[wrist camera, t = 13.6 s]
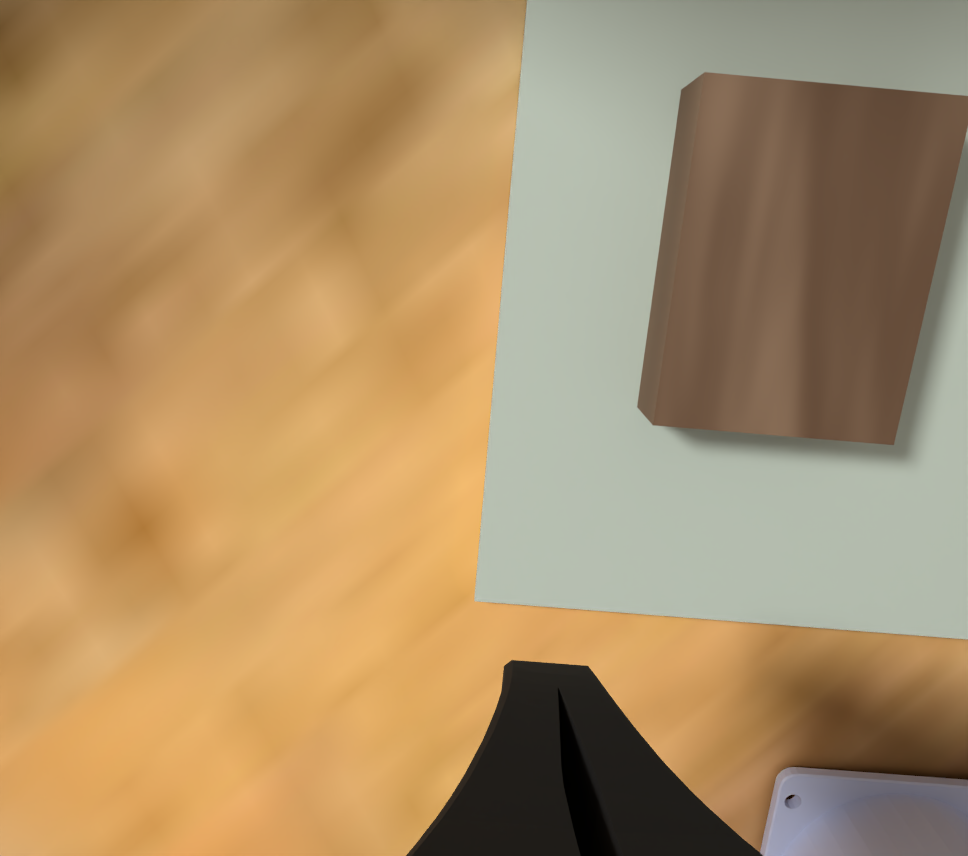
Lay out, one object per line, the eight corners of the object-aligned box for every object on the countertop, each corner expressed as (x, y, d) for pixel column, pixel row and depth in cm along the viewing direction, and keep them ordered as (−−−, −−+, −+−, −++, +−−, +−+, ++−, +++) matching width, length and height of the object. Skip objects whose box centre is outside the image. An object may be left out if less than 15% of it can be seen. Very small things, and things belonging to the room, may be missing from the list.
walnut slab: (974, 96, 16) (704, 72, 16) (893, 445, 18) (652, 425, 18) (922, 111, 18) (681, 89, 18) (854, 425, 20) (636, 407, 20)
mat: (1067, 638, 22) (1080, 648, 22) (474, 593, 22) (474, 601, 22) (1276, -27, 18) (1298, -34, 17) (535, -96, 18) (536, -105, 17)
